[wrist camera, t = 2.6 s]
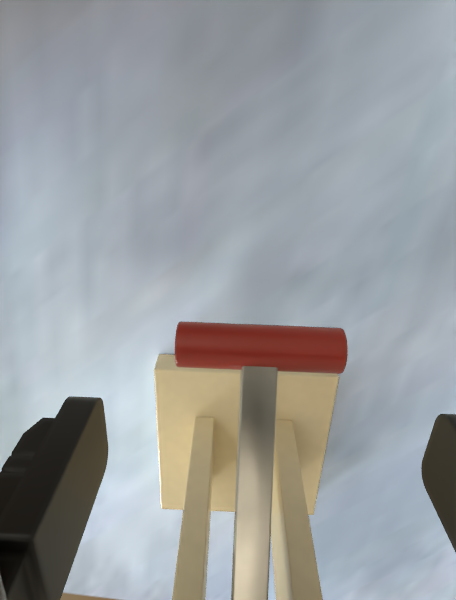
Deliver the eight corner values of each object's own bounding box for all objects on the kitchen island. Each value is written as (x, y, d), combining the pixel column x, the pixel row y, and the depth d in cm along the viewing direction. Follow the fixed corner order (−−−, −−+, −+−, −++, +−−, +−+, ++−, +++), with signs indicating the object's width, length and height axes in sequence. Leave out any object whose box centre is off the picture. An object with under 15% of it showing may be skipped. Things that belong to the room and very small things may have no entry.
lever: (182, 318, 15) (173, 324, 12) (333, 324, 15) (353, 331, 12) (168, 691, 15) (156, 767, 13) (316, 697, 15) (332, 775, 13)
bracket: (158, 353, 22) (65, 671, 10) (334, 360, 22) (452, 686, 10) (164, 489, 26) (104, 821, 14) (310, 495, 26) (371, 832, 14)
